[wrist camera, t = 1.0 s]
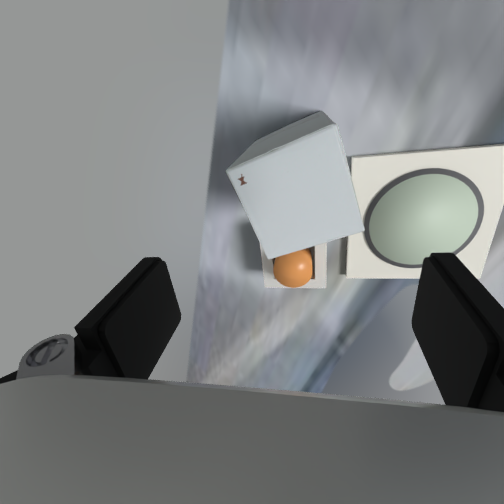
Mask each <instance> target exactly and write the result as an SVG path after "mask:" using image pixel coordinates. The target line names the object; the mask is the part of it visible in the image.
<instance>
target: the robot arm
mask: <svg viewBox="0 0 504 504" xmlns="http://www.w3.org/2000/svg"><path fill="white" fill-rule="evenodd" d="M180 320H181V312H180V309H179V305H178V302H177V299H176V295H175V292H174V289H173V285H172V282H171V279H170V275H169V272H168V269H167V265H166V263H165V261H162V260H161V258H159V257H147V258H143V259H142V260H141V261H140V262H139V263H138V264H137V265H136V266H135V267H134V268H133V269H132V270H131V271H130V272H129V273H128V274H127V275H126V276H125V277H124V278H123V279H122V280H121V281H120V282H119V283H118V284H117V285H116V286H115V287H114V288H113V289H112V290H111V291H110V292H109V293H108V294H107V295H106V296H105V297H104V298H103V299H102V300H101V301H100V302H99V303H98V304H97V305H96V306H95V307H94V308H93V309H92V310H91V311H90V312H89V313H88V314H87V315H86V316H85V317H84V318H83V319H82V320H81V321H80V322H79V323H78V324H77V325H76V326H75V330H76V332H77V334H78V335H77V336H76V337H75V338H73V337H72V336H71V335H67V334H60V335H55V336H52V337H49V338H47V339H45V340H42V341H41V342H39V343H37V344H36V345H34V346H33V347H32V348H31V349H29V350H28V351H27V352H26V353H25V354H24V356H23V357H22V359H21V361H20V363H19V368H18V370H17V371H15V372H13V373H11V374H9V375H6V376H4V377H2V378H0V504H504V308H503V307H502V306H501V305H500V304H499V303H498V302H497V301H496V299H495V298H494V297H493V296H492V295H491V294H490V293H489V292H488V291H487V289H486V288H485V287H484V286H483V285H482V284H481V283H480V282H479V281H478V279H477V278H476V277H475V276H474V275H473V274H472V273H471V272H470V271H469V269H468V268H467V267H466V266H465V265H464V264H463V263H462V262H461V261H460V259H459V258H458V257H457V256H456V255H455V254H454V253H452V252H444V253H431V254H430V256H429V257H425V258H424V260H423V264H422V269H421V275H420V280H419V285H418V290H417V296H416V300H415V306H414V311H413V316H412V328H413V331H414V333H415V336H416V338H417V340H418V343H419V345H420V347H421V349H422V352H423V354H424V356H425V359H426V361H427V363H428V365H429V368H430V370H431V372H432V375H433V377H434V379H435V381H436V384H437V386H438V388H439V390H440V393H441V395H442V397H443V400H444V402H445V404H446V405H440V404H430V403H420V402H410V401H401V400H390V399H379V398H368V397H356V396H344V395H333V394H322V393H310V392H299V391H287V390H275V389H262V388H250V387H238V386H226V385H213V384H201V383H188V382H175V381H161V380H148V378H149V376H150V374H151V372H152V371H153V369H154V367H155V365H156V364H157V362H158V360H159V358H160V356H161V355H162V353H163V351H164V349H165V348H166V346H167V344H168V342H169V340H170V339H171V337H172V335H173V333H174V331H175V330H176V328H177V326H178V324H179V322H180Z"/></svg>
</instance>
